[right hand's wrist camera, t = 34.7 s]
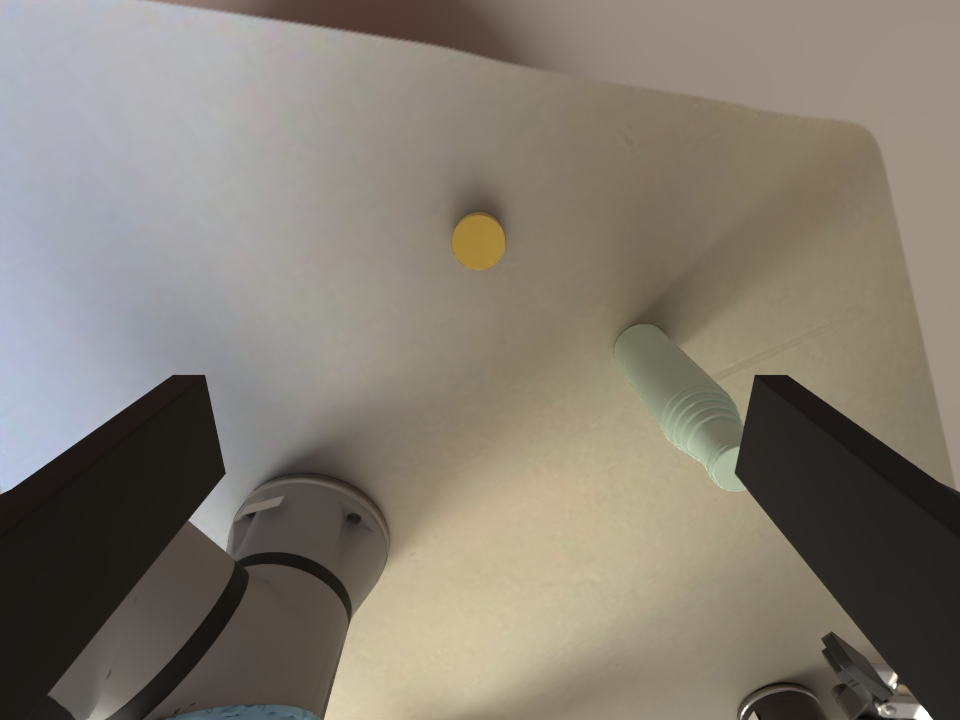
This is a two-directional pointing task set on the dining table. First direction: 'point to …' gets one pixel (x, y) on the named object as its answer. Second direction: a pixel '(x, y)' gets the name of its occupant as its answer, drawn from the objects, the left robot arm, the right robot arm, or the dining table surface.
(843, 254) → the dining table surface
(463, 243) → the cap
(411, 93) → the dining table surface
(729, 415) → the bottle
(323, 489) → the right robot arm
